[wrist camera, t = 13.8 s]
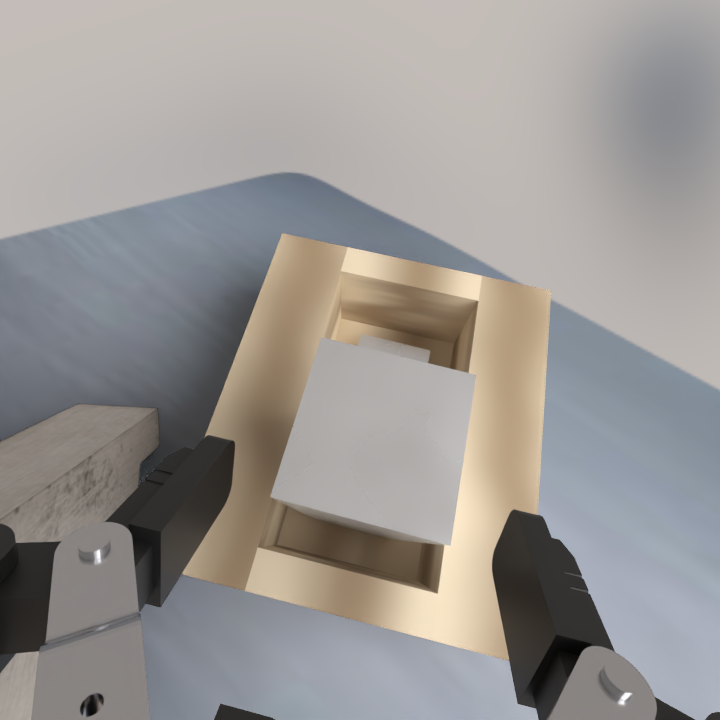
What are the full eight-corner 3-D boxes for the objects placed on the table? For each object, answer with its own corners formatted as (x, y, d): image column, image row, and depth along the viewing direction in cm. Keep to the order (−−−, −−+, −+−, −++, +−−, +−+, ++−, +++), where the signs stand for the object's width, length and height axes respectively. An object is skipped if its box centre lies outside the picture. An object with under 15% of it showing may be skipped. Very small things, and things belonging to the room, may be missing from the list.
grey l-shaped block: (312, 518, 21) (269, 496, 9) (360, 344, 25) (375, 168, 13) (389, 539, 21) (450, 546, 9) (425, 360, 25) (503, 196, 13)
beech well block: (204, 558, 21) (154, 566, 16) (294, 294, 27) (282, 233, 22) (478, 630, 20) (528, 665, 15) (507, 341, 26) (551, 290, 21)
